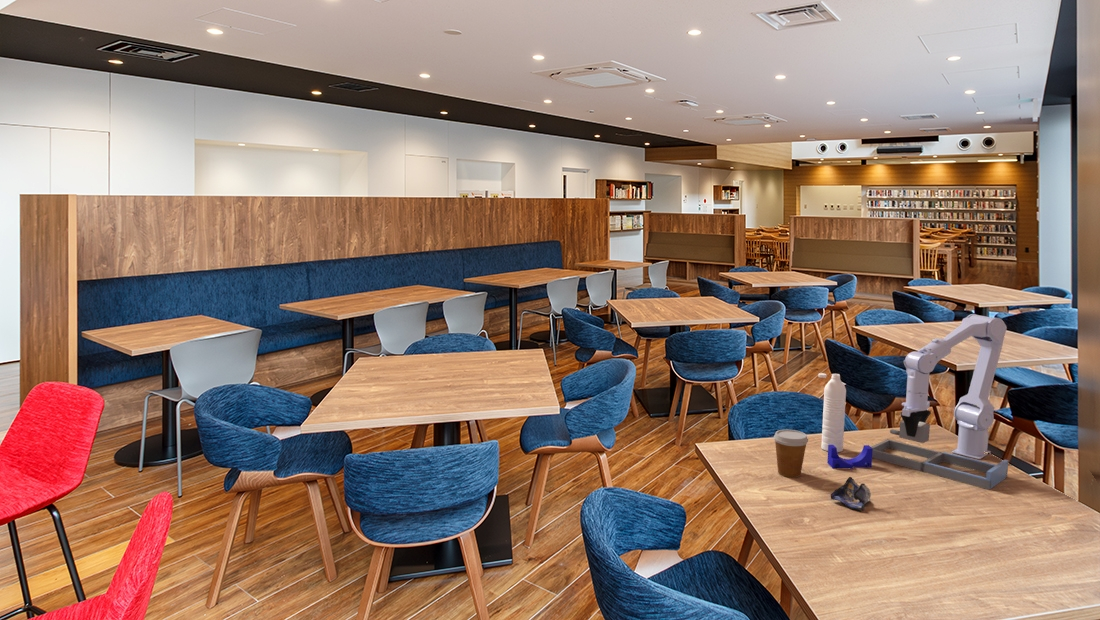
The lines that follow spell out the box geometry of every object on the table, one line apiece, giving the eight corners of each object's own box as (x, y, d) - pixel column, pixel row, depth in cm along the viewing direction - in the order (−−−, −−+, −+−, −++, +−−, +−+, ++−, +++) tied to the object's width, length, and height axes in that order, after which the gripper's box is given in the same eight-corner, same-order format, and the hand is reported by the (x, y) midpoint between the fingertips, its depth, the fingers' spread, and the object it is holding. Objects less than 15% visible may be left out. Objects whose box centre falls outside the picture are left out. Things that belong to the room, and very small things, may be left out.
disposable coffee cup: (767, 468, 202) (768, 429, 200) (797, 466, 203) (799, 428, 201) (780, 480, 193) (782, 440, 191) (812, 479, 193) (814, 439, 192)
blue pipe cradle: (832, 468, 201) (833, 449, 201) (827, 463, 206) (828, 444, 205) (873, 469, 201) (874, 450, 200) (867, 464, 205) (868, 445, 204)
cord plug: (892, 431, 213) (894, 415, 212) (928, 440, 205) (930, 423, 204) (886, 434, 210) (888, 418, 210) (923, 443, 202) (924, 426, 201)
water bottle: (838, 445, 221) (842, 371, 217) (846, 452, 214) (850, 376, 211) (811, 445, 221) (814, 371, 217) (818, 452, 215) (822, 376, 211)
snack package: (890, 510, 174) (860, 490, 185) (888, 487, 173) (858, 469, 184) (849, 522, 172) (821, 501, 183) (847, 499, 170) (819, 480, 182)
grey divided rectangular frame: (887, 446, 220) (888, 431, 219) (1007, 477, 194) (1008, 460, 193) (866, 456, 211) (867, 441, 210) (989, 489, 185) (990, 472, 184)
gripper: (913, 384, 212) (911, 426, 213) (892, 392, 203) (890, 436, 204) (938, 389, 206) (934, 431, 208) (917, 397, 197) (914, 442, 199)
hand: (914, 434), depth 206 cm, fingers closed on cord plug, 4 cm apart
